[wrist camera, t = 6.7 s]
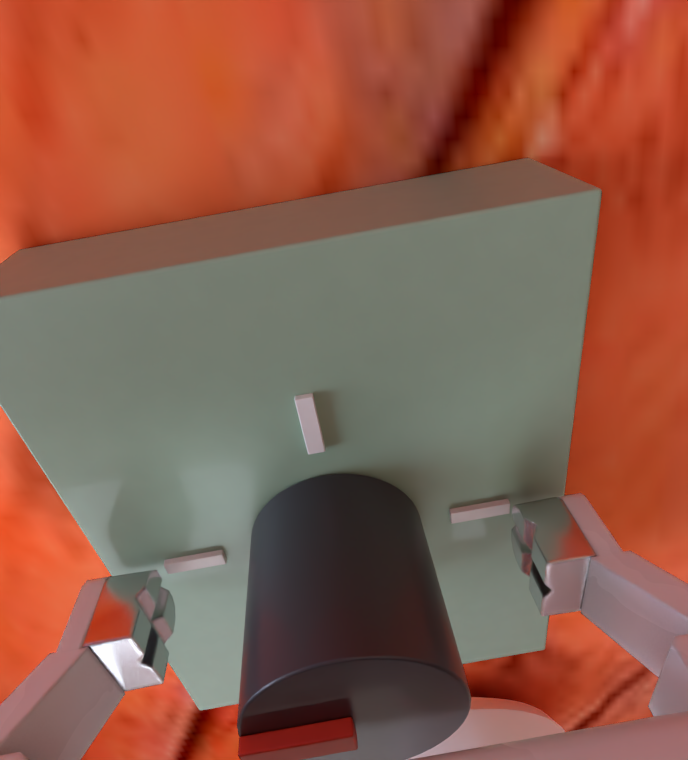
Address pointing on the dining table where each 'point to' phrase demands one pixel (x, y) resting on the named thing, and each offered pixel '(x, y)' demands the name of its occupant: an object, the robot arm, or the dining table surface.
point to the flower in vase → (496, 725)
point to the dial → (345, 629)
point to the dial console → (310, 384)
